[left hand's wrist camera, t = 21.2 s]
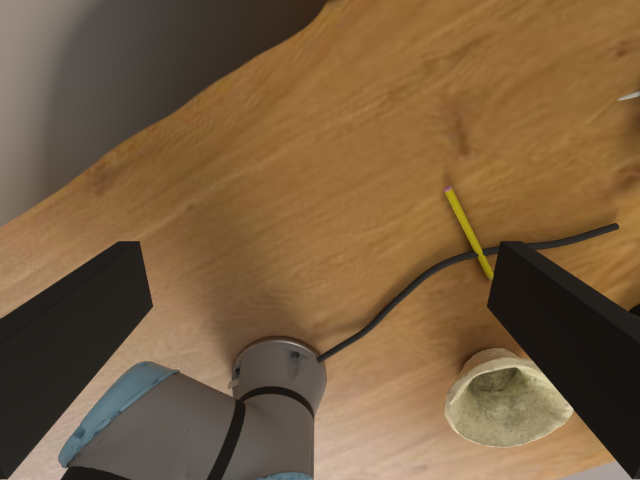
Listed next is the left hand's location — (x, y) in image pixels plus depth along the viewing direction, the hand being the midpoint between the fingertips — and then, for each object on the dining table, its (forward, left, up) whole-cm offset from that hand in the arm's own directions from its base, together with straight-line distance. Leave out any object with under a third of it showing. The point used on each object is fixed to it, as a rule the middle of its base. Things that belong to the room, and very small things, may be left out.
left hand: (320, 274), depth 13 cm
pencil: (-16, +17, -33) cm, 41 cm away
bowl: (-14, +41, -33) cm, 55 cm away
